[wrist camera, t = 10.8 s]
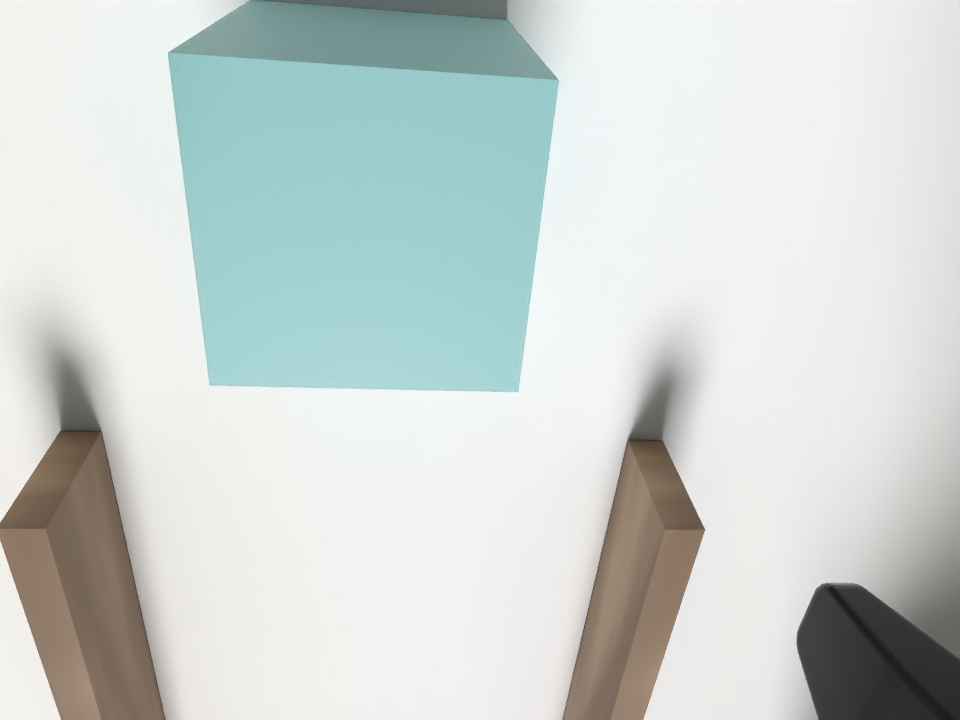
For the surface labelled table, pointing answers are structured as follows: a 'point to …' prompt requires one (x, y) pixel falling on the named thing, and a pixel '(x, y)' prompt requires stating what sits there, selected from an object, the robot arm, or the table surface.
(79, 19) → the table surface
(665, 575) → the wooden u-shaped frame
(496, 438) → the table surface
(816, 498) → the table surface
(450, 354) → the teal block
